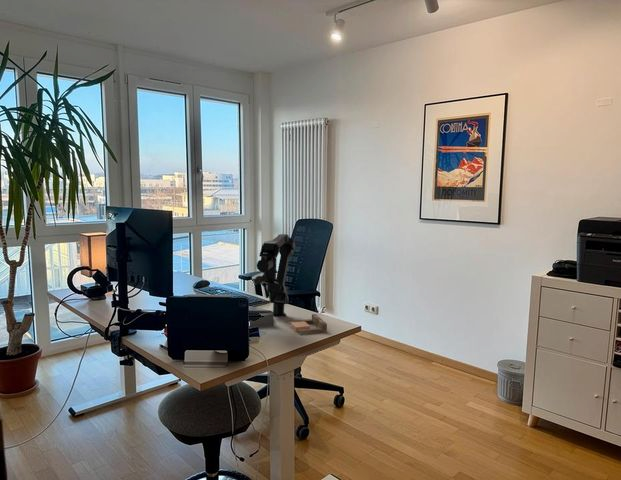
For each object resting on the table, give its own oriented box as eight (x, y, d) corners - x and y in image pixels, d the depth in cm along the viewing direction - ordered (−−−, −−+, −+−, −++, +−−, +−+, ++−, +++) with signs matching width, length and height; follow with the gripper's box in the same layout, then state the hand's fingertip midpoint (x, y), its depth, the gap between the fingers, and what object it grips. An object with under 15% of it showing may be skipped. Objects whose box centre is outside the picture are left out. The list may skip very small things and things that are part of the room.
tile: (290, 327, 202) (290, 322, 201) (304, 326, 204) (304, 321, 204) (295, 332, 195) (295, 327, 195) (309, 331, 198) (310, 326, 197)
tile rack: (289, 323, 206) (290, 315, 205) (315, 321, 210) (315, 313, 209) (299, 334, 192) (299, 325, 191) (326, 332, 196) (327, 323, 195)
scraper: (249, 328, 197) (249, 317, 197) (246, 323, 204) (246, 313, 203) (276, 326, 201) (276, 316, 201) (272, 321, 208) (272, 311, 207)
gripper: (249, 264, 209) (248, 296, 211) (257, 272, 191) (256, 306, 193) (271, 264, 212) (270, 295, 214) (281, 272, 195) (280, 305, 197)
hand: (269, 300), depth 204 cm, fingers open, 9 cm apart
